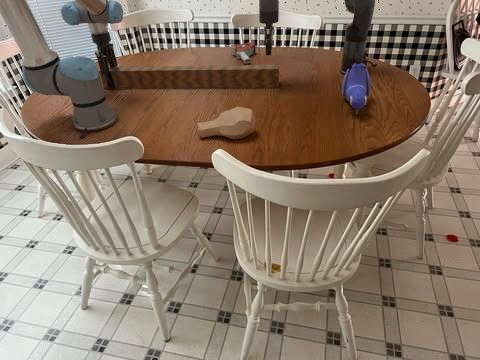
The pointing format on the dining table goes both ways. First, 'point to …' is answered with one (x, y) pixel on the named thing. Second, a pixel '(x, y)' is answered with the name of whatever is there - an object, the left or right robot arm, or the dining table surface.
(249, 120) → the squash
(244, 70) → the beam
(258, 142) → the dining table surface
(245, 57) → the tape dispenser
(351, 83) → the toy
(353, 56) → the right robot arm
